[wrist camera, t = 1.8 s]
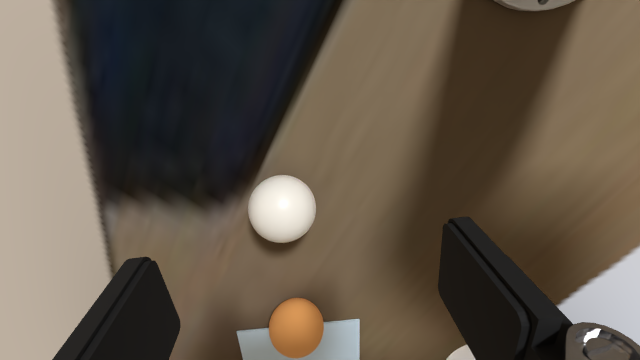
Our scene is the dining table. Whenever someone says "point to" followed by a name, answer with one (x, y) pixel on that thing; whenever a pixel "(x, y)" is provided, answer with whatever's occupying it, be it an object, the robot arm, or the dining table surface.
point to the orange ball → (296, 328)
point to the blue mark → (330, 356)
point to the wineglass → (461, 354)
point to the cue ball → (282, 208)
